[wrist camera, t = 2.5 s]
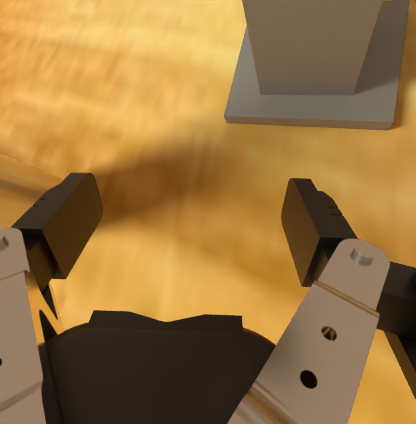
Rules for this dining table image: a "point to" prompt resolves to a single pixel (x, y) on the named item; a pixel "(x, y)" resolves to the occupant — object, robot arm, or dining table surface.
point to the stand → (319, 63)
